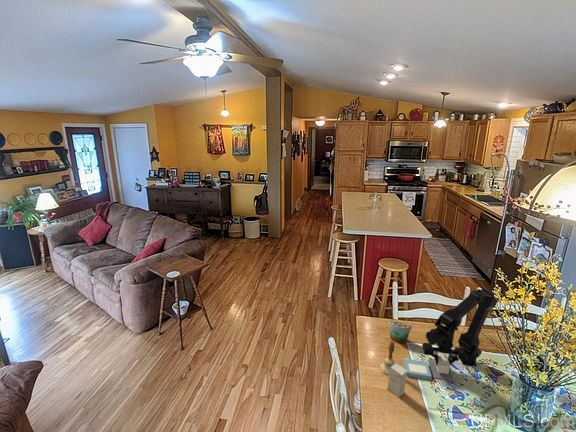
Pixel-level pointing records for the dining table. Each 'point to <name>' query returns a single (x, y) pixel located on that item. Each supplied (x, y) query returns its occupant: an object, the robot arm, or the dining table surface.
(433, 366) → the mat
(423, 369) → the ticket book
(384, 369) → the hand bell
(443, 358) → the stub
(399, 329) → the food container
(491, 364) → the dining table surface
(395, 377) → the skincare box
